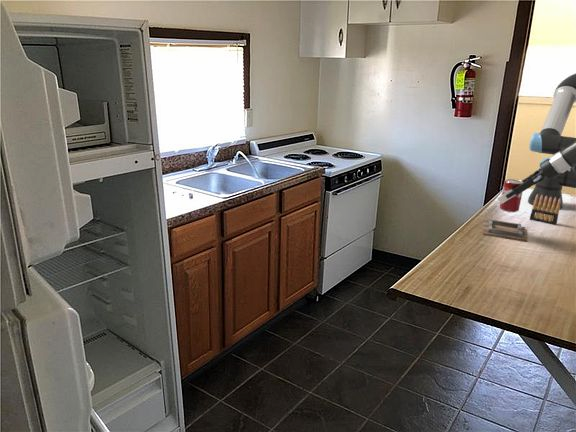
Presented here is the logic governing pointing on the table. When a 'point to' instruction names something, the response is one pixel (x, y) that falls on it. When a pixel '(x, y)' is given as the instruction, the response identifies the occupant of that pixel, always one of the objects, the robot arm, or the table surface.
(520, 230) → the keeper board
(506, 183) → the soda can
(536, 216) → the ammunition clip
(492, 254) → the table surface
